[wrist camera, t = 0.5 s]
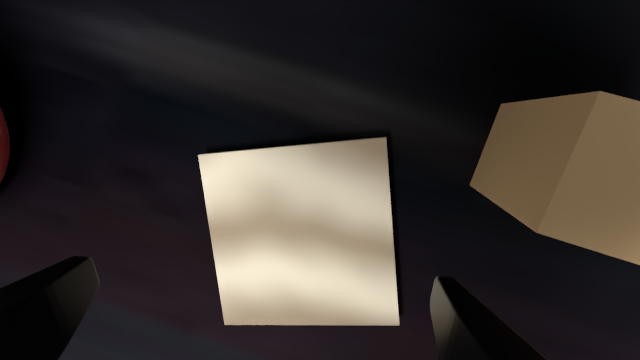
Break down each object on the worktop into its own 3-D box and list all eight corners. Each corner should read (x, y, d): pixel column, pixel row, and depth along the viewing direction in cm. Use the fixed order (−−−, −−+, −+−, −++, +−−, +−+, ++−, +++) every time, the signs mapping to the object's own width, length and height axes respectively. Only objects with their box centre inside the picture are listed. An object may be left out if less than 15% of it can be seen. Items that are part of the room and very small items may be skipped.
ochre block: (553, 210, 20) (687, 280, 11) (469, 185, 21) (536, 232, 12) (590, 128, 19) (770, 135, 10) (501, 103, 20) (600, 90, 11)
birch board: (398, 316, 23) (399, 325, 22) (230, 316, 25) (224, 324, 24) (385, 136, 21) (386, 137, 20) (205, 153, 23) (197, 154, 22)
